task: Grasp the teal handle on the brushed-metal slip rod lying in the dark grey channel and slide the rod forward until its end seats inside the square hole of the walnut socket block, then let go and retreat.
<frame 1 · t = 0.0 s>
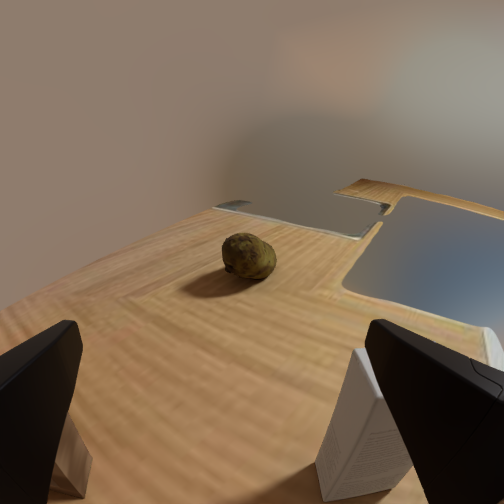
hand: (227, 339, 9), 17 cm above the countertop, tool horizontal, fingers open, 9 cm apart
skincare box: (352, 477, 18), on the countertop
potato: (251, 277, 52), on the countertop
socket block: (44, 467, 15), on the countertop
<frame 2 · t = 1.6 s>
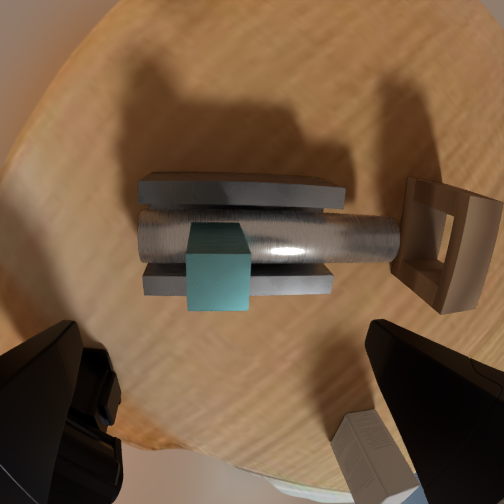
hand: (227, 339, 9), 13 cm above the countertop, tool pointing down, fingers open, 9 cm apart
skincare box: (352, 424, 31), on the countertop
socket block: (418, 227, 23), on the countertop
channel: (235, 220, 21), on the countertop
slip rod: (285, 250, 16), point 6 cm above the countertop, slide at 0.0 cm
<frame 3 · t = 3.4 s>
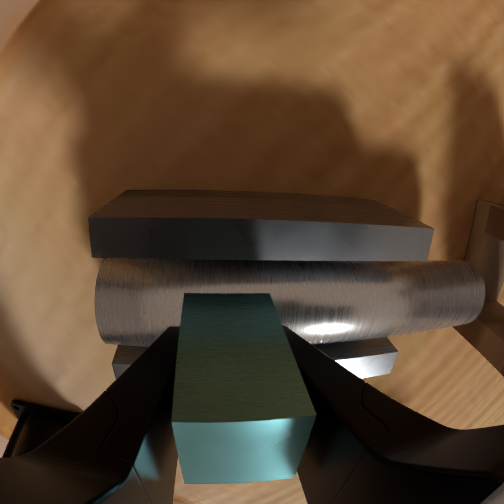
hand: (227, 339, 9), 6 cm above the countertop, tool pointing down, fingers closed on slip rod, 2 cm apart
socket block: (481, 263, 16), on the countertop
channel: (253, 263, 14), on the countertop
slip rod: (344, 337, 9), point 6 cm above the countertop, slide at 0.0 cm, touching gripper
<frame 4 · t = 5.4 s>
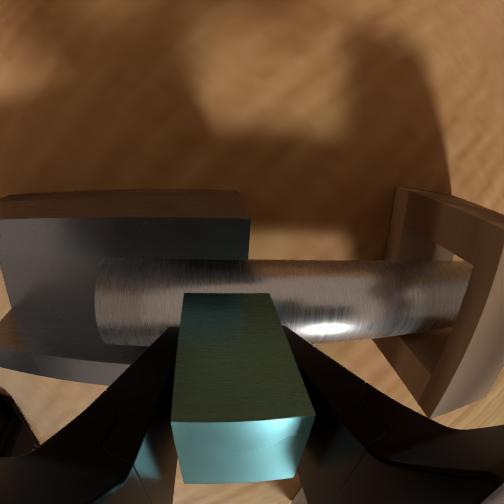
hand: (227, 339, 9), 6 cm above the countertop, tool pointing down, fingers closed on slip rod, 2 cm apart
skincare box: (317, 485, 24), on the countertop
socket block: (412, 264, 15), on the countertop
channel: (111, 261, 13), on the countertop
slip rod: (344, 337, 9), point 6 cm above the countertop, slide at 6.4 cm, touching gripper
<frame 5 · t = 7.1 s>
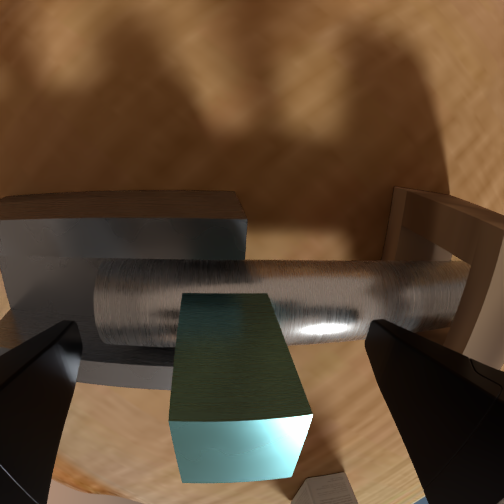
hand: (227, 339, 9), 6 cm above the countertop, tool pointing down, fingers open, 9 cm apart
skincare box: (316, 485, 24), on the countertop
socket block: (410, 264, 15), on the countertop
channel: (110, 261, 13), on the countertop
slip rod: (342, 337, 9), point 6 cm above the countertop, slide at 6.4 cm
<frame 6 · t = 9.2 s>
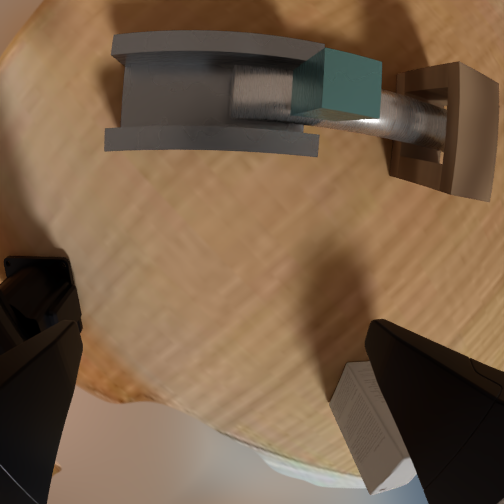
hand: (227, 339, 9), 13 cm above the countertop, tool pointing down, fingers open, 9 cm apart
skincare box: (354, 380, 28), on the countertop
socket block: (415, 128, 20), on the countertop
channel: (213, 98, 18), on the countertop
slip rod: (382, 106, 14), point 6 cm above the countertop, slide at 6.4 cm
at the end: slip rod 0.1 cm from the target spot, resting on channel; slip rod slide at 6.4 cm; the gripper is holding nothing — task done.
